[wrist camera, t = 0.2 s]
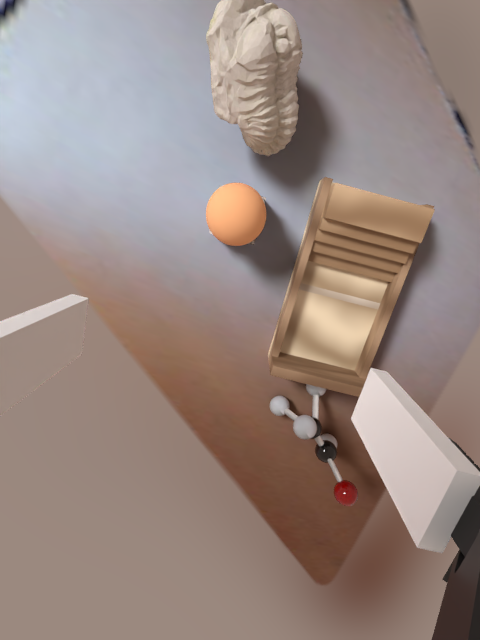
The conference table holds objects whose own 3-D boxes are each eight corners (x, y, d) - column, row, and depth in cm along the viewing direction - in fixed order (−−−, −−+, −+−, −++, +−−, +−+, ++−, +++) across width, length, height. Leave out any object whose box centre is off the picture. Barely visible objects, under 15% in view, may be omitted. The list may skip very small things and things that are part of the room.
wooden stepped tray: (319, 180, 38) (332, 172, 32) (419, 207, 38) (450, 204, 32) (267, 354, 44) (270, 375, 38) (354, 376, 44) (370, 399, 38)
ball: (216, 179, 35) (210, 171, 29) (271, 194, 35) (275, 188, 29) (204, 236, 37) (195, 238, 31) (257, 250, 37) (258, 254, 31)
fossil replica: (296, 158, 37) (312, 136, 28) (223, 165, 38) (213, 145, 28) (293, 29, 34) (310, -47, 24) (212, 38, 34) (197, -34, 25)
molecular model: (318, 369, 44) (338, 413, 34) (359, 435, 47) (389, 495, 37) (265, 397, 46) (269, 447, 36) (308, 460, 48) (322, 524, 38)
